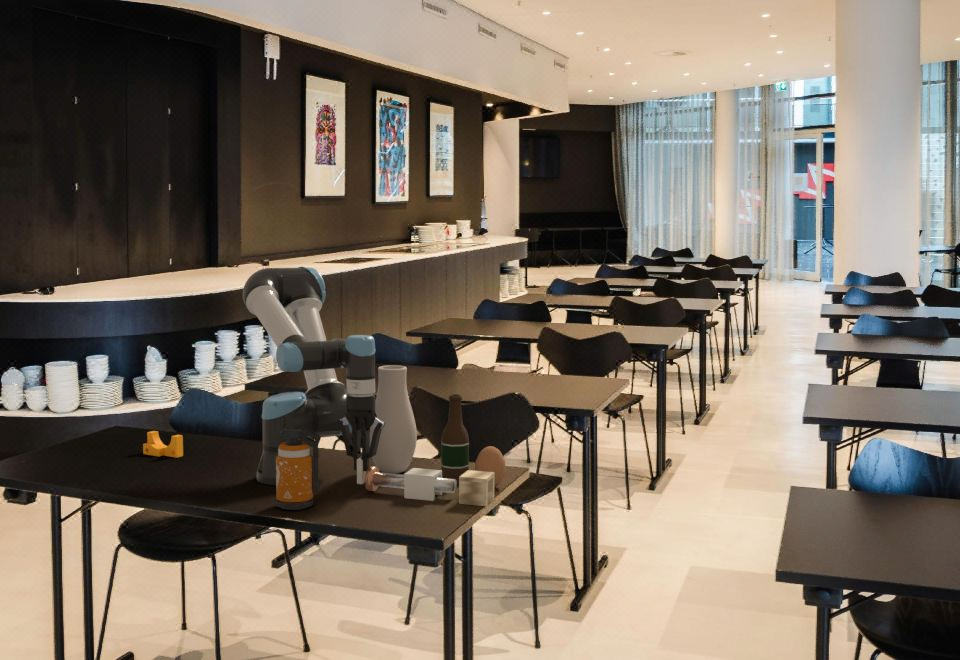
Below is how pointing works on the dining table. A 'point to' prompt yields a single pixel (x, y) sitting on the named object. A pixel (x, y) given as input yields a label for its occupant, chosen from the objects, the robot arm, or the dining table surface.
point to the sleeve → (421, 484)
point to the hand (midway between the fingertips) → (361, 482)
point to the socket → (476, 488)
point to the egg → (491, 463)
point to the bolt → (402, 481)
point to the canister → (297, 469)
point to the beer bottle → (454, 442)
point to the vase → (394, 421)
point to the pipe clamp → (159, 449)
